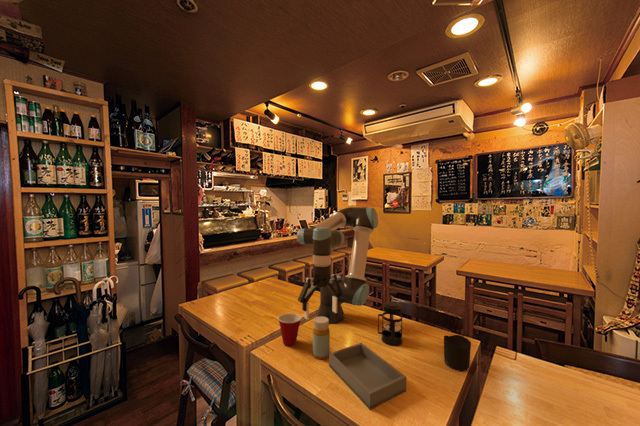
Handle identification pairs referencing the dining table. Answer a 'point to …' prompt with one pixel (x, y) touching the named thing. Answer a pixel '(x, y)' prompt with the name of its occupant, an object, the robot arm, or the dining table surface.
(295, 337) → the plastic cup
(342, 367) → the crate
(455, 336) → the pen holder
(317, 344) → the bottle
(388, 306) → the french press
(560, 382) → the dining table surface
